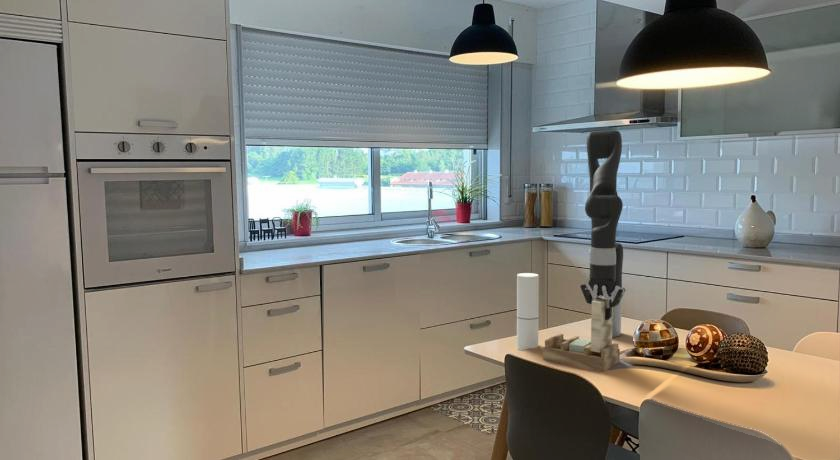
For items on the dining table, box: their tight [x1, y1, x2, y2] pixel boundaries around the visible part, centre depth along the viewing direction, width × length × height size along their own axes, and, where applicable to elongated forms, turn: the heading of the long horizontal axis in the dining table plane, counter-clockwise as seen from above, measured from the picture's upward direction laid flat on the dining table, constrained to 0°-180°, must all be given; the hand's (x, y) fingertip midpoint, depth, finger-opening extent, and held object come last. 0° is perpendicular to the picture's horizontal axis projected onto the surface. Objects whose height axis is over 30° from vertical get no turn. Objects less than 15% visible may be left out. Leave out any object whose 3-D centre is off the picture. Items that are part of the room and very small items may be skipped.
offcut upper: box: [569, 338, 591, 354], centre depth 201 cm, size 7×5×3 cm, turn 145°
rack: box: [542, 332, 621, 373], centre depth 201 cm, size 12×19×7 cm, turn 51°
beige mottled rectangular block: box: [590, 297, 613, 353], centre depth 196 cm, size 9×3×15 cm, turn 141°
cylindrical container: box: [516, 272, 540, 352], centre depth 218 cm, size 7×7×25 cm
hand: (602, 318), depth 196 cm, fingers closed on beige mottled rectangular block, 2 cm apart
